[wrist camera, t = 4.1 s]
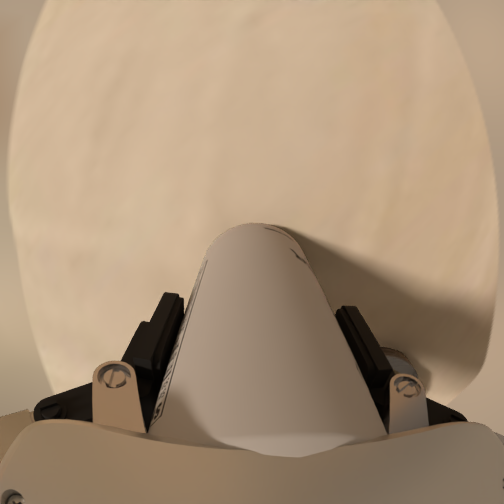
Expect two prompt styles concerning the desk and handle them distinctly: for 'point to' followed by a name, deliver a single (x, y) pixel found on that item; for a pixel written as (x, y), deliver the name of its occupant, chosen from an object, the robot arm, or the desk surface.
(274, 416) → the energy drink can
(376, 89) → the desk surface
